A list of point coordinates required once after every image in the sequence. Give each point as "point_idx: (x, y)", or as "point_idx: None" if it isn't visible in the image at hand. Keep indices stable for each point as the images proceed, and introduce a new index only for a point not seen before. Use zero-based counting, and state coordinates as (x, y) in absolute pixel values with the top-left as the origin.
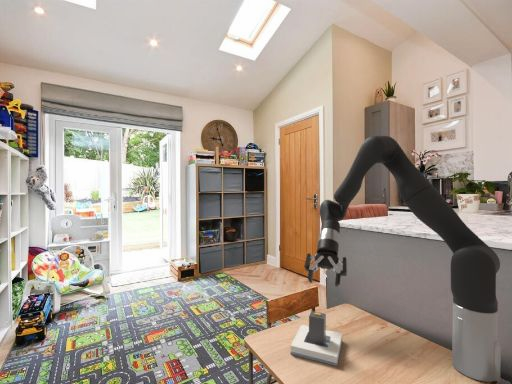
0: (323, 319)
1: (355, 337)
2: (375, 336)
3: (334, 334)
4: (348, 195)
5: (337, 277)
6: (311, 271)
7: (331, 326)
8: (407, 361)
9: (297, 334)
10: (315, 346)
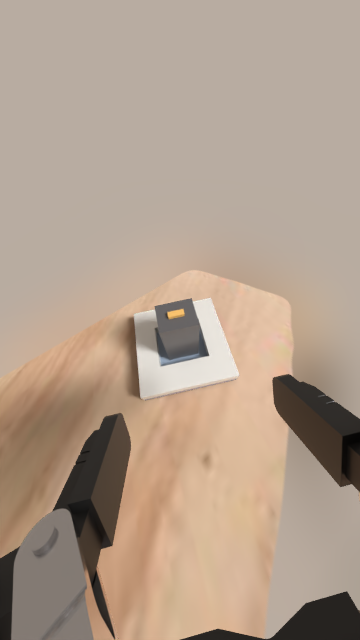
0: (156, 307)
1: None
2: None
3: (155, 381)
4: None
5: (89, 460)
6: (342, 425)
7: (190, 470)
8: (21, 409)
9: (221, 333)
10: None
